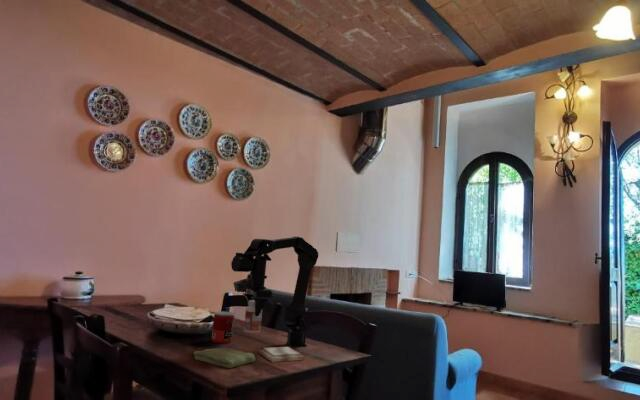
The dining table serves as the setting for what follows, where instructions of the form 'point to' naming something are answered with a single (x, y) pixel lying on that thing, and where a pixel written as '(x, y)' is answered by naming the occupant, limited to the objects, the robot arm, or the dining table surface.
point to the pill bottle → (252, 319)
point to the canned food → (223, 327)
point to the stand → (281, 354)
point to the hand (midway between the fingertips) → (253, 314)
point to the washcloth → (224, 357)
